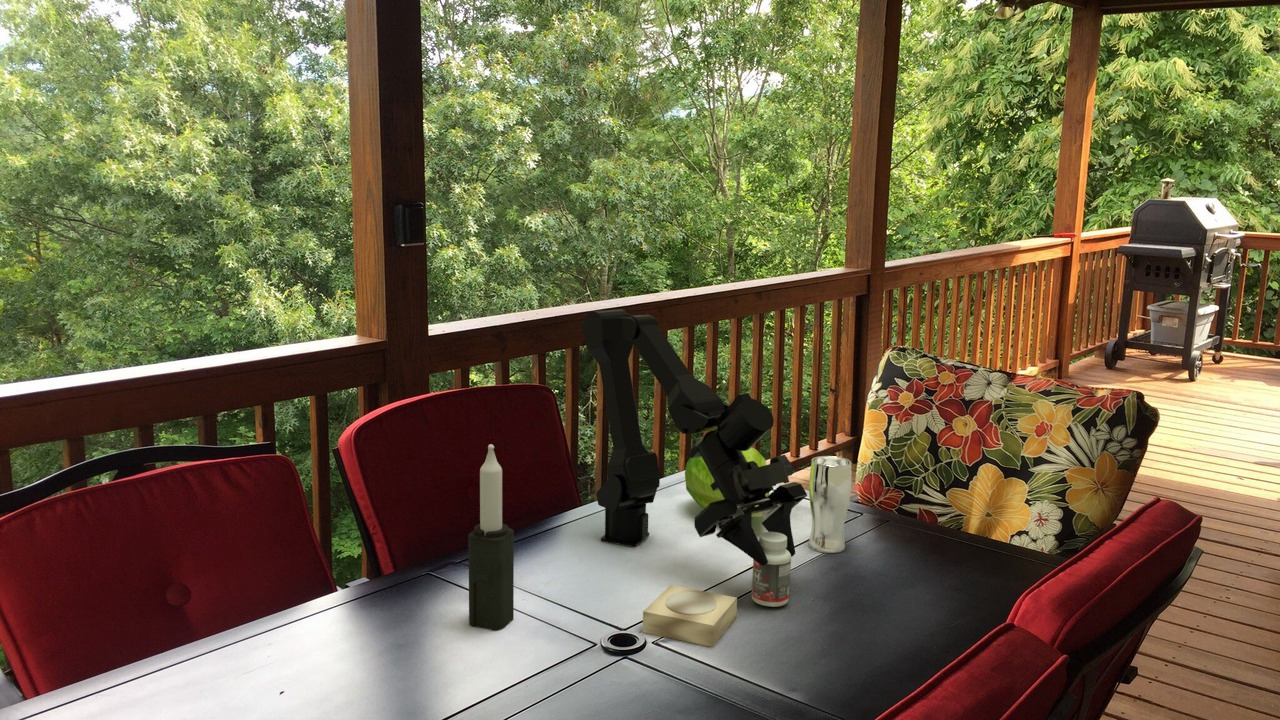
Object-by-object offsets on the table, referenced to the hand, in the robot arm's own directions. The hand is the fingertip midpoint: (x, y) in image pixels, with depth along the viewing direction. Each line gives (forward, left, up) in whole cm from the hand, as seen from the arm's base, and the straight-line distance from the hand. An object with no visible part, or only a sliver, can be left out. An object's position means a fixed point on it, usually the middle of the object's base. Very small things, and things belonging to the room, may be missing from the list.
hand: (779, 560), depth 143 cm
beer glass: (+1, +28, -7) cm, 29 cm away
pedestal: (-9, -11, -7) cm, 16 cm away
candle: (-34, -22, -7) cm, 41 cm away
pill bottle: (-1, +1, -7) cm, 7 cm away
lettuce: (-18, +35, -7) cm, 40 cm away
